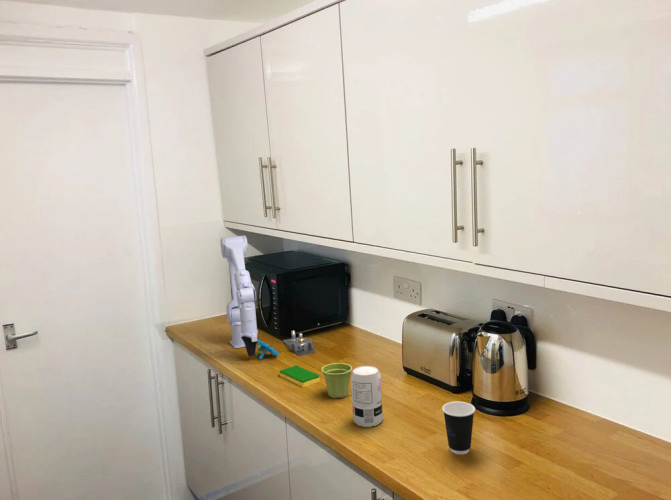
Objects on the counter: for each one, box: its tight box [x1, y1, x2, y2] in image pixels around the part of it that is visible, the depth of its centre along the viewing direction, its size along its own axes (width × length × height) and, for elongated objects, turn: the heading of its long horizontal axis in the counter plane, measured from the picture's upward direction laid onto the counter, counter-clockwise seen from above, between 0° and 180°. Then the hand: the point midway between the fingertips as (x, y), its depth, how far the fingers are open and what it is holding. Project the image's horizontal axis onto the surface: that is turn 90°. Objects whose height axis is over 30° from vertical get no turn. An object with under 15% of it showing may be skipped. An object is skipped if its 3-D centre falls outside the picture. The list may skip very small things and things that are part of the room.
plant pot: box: [321, 362, 353, 399], centre depth 183 cm, size 9×9×9 cm
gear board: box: [282, 330, 317, 356], centre depth 230 cm, size 18×9×6 cm, turn 23°
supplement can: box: [350, 365, 384, 428], centre depth 163 cm, size 8×8×15 cm
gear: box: [255, 339, 280, 360], centre depth 220 cm, size 11×6×10 cm
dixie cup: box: [441, 401, 476, 456], centre depth 146 cm, size 8×8×11 cm
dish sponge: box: [279, 365, 321, 388], centre depth 199 cm, size 7×14×2 cm, turn 39°
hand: (251, 355), depth 218 cm, fingers closed, pressing on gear
